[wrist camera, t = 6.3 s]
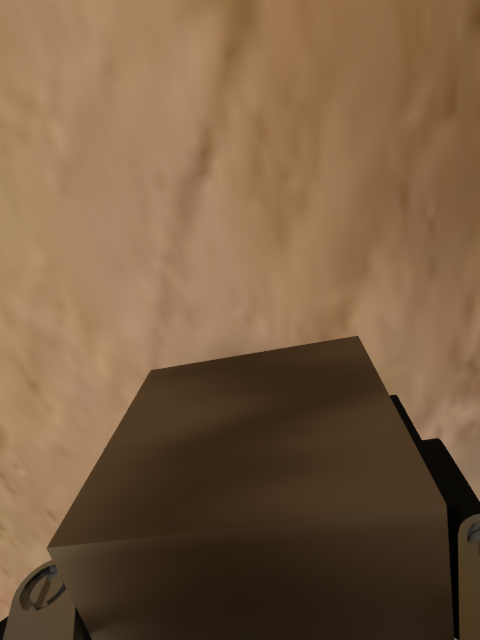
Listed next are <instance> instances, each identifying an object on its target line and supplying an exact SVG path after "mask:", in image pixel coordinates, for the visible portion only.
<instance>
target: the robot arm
mask: <svg viewBox="0 0 480 640" xmlns="http://www.w3.org/2000/svg"><path fill="white" fill-rule="evenodd" d="M390 398H391V400H392V402H393V404H394V405H395V407H396V409H397V411H398V413H399V415H400V417H401V419H402V421H403V423H404V425H405V426H406V428H407V430H408V432H409V434H410V436H411V438H412V440H413V442H414V444H415V446H416V447H417V449H418V451H419V453H420V455H421V457H422V459H423V461H424V463H425V465H426V467H427V469H428V470H429V472H430V474H431V476H432V478H433V480H434V482H435V484H436V486H437V488H438V490H439V491H440V493H441V495H442V497H443V499H444V501H445V503H446V506H447V523H448V540H449V557H450V574H451V591H452V608H453V625H454V638H456V639H457V640H480V501H479V500H478V498H477V497H476V495H475V494H474V492H473V490H472V489H471V487H470V486H469V484H468V482H467V481H466V479H465V478H464V476H463V474H462V473H461V471H460V470H459V468H458V466H457V465H456V463H455V462H454V460H453V458H452V457H451V455H450V454H449V452H448V450H447V449H446V447H445V446H444V444H443V443H442V441H441V440H440V439H438V438H436V439H428V440H421V438H420V436H419V434H418V432H417V431H416V429H415V427H414V425H413V423H412V422H411V420H410V418H409V416H408V414H407V413H406V411H405V409H404V407H403V405H402V404H401V402H400V400H399V398H398V397H397V395H390ZM0 640H92V638H91V636H90V634H89V632H88V630H87V628H86V626H85V624H84V622H83V620H82V618H81V616H80V614H79V612H78V610H77V608H76V606H75V604H74V602H73V600H72V598H71V596H70V594H69V592H68V590H67V588H66V586H65V584H64V582H63V580H62V578H61V576H60V574H59V572H58V570H57V568H56V566H55V564H54V562H53V560H51V561H48V562H46V563H45V564H43V565H41V566H39V567H38V568H37V569H35V570H34V571H33V572H31V573H30V574H29V575H28V576H27V577H26V578H25V579H24V580H23V581H22V583H21V584H20V586H19V587H18V589H17V590H16V592H15V595H14V597H13V600H12V604H11V608H10V612H9V616H8V617H6V618H5V619H3V620H2V621H1V622H0Z"/></svg>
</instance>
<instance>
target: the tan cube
mask: <svg viewBox="0 0 480 640" xmlns="http://www.w3.org/2000/svg"><path fill="white" fill-rule="evenodd" d="M47 550H48V552H49V554H50V556H51V558H52V560H53V562H54V564H55V566H56V568H57V570H58V572H59V574H60V576H61V578H62V580H63V582H64V584H65V586H66V588H67V590H68V592H69V594H70V596H71V598H72V600H73V602H74V604H75V606H76V608H77V610H78V612H79V614H80V616H81V618H82V620H83V622H84V624H85V626H86V628H87V630H88V632H89V634H90V636H91V638H92V640H454V625H453V608H452V591H451V574H450V557H449V540H448V523H447V506H446V503H445V501H444V499H443V497H442V495H441V493H440V491H439V490H438V488H437V486H436V484H435V482H434V480H433V478H432V476H431V474H430V472H429V470H428V469H427V467H426V465H425V463H424V461H423V459H422V457H421V455H420V453H419V451H418V449H417V447H416V446H415V444H414V442H413V440H412V438H411V436H410V434H409V432H408V430H407V428H406V426H405V425H404V423H403V421H402V419H401V417H400V415H399V413H398V411H397V409H396V407H395V405H394V404H393V402H392V400H391V398H390V396H389V394H388V392H387V390H386V388H385V386H384V384H383V383H382V381H381V379H380V377H379V375H378V373H377V371H376V369H375V367H374V365H373V363H372V362H371V360H370V358H369V356H368V354H367V352H366V350H365V348H364V346H363V344H362V342H361V340H360V339H359V337H358V336H354V337H348V338H342V339H336V340H330V341H324V342H318V343H312V344H306V345H300V346H294V347H288V348H282V349H276V350H270V351H264V352H258V353H252V354H246V355H240V356H234V357H228V358H222V359H216V360H210V361H204V362H198V363H192V364H186V365H180V366H174V367H168V368H162V369H156V370H151V371H150V373H149V374H148V376H147V378H146V379H145V381H144V383H143V385H142V386H141V388H140V390H139V391H138V393H137V395H136V397H135V398H134V400H133V402H132V403H131V405H130V407H129V408H128V410H127V412H126V414H125V415H124V417H123V419H122V420H121V422H120V424H119V426H118V427H117V429H116V431H115V432H114V434H113V436H112V437H111V439H110V441H109V443H108V444H107V446H106V448H105V449H104V451H103V453H102V455H101V456H100V458H99V460H98V461H97V463H96V465H95V466H94V468H93V470H92V472H91V473H90V475H89V477H88V478H87V480H86V482H85V484H84V485H83V487H82V489H81V490H80V492H79V494H78V495H77V497H76V499H75V501H74V502H73V504H72V506H71V507H70V509H69V511H68V513H67V514H66V516H65V518H64V519H63V521H62V523H61V525H60V526H59V528H58V530H57V531H56V533H55V535H54V536H53V538H52V540H51V542H50V543H49V545H48V547H47Z"/></svg>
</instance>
